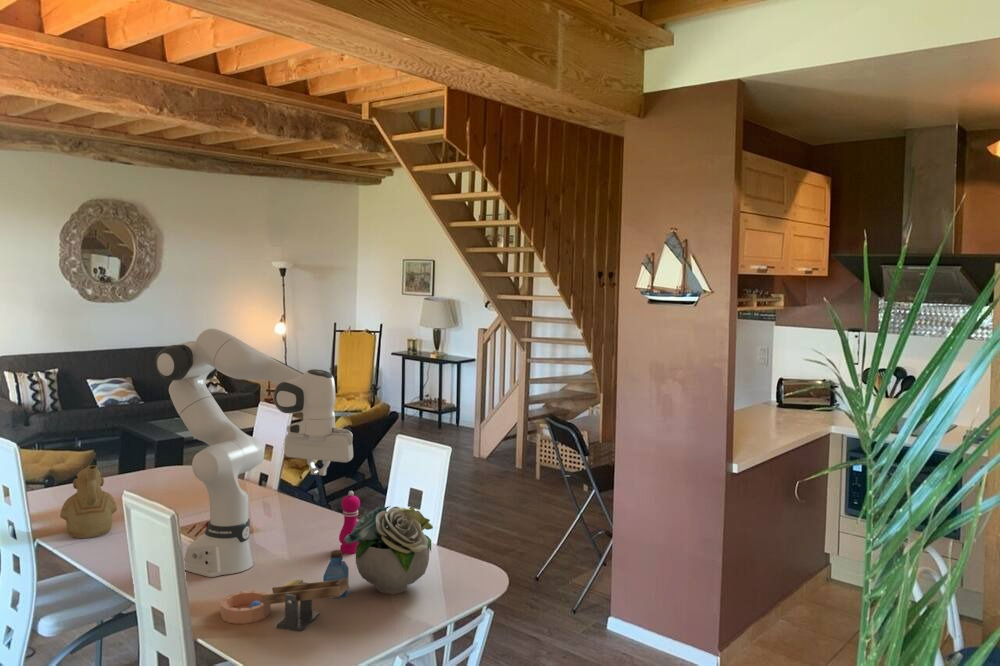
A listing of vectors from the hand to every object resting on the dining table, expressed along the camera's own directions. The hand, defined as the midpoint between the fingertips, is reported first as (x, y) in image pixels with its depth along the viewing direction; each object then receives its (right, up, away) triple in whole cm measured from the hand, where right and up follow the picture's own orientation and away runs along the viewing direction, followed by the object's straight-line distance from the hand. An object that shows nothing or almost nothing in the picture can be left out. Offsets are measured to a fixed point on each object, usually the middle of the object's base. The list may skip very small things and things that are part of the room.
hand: (318, 474), depth 213 cm
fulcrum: (0, -34, -20) cm, 40 cm away
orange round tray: (-15, -34, -16) cm, 40 cm away
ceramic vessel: (-89, -28, +42) cm, 102 cm away
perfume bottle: (+5, -34, -1) cm, 34 cm away
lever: (+3, -27, -17) cm, 32 cm away
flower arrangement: (+21, -34, +3) cm, 40 cm away
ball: (-12, -32, -17) cm, 38 cm away
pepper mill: (+3, -31, +32) cm, 45 cm away
